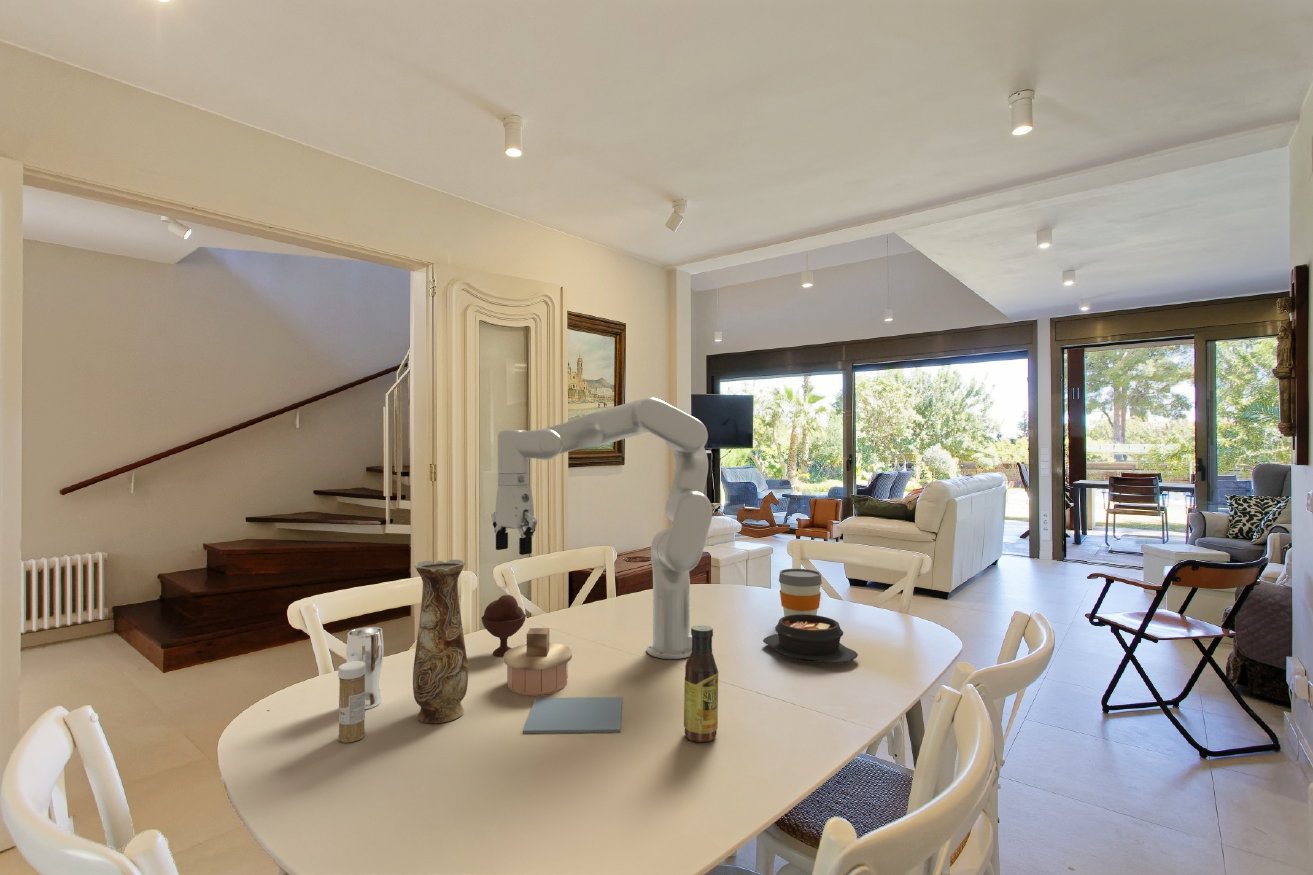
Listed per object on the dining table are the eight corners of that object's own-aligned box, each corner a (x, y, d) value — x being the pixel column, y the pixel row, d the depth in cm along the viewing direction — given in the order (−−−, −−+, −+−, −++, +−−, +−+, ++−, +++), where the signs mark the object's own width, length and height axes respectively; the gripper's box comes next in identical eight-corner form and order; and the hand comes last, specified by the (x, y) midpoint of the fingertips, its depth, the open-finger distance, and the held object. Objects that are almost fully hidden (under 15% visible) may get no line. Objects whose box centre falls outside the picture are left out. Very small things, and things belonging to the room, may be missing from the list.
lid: (575, 650, 150) (575, 621, 150) (568, 674, 135) (568, 641, 135) (511, 651, 150) (511, 621, 150) (497, 674, 135) (497, 641, 135)
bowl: (570, 673, 149) (570, 647, 149) (563, 695, 136) (563, 667, 136) (514, 674, 149) (514, 648, 149) (502, 696, 136) (502, 668, 136)
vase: (416, 729, 120) (416, 570, 120) (409, 708, 129) (410, 560, 129) (472, 718, 124) (473, 565, 125) (462, 699, 134) (462, 556, 134)
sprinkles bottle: (334, 737, 117) (334, 664, 117) (360, 729, 120) (361, 658, 120) (342, 746, 113) (343, 670, 113) (369, 738, 116) (369, 664, 116)
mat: (621, 699, 134) (621, 696, 134) (620, 731, 119) (620, 729, 119) (536, 700, 133) (536, 697, 133) (523, 733, 118) (523, 730, 118)
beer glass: (390, 699, 133) (390, 628, 134) (365, 713, 127) (365, 638, 127) (364, 695, 136) (364, 625, 136) (338, 708, 129) (338, 634, 129)
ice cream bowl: (530, 646, 168) (530, 589, 168) (516, 661, 157) (517, 600, 157) (491, 645, 169) (491, 588, 169) (475, 659, 158) (475, 599, 158)
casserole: (747, 649, 166) (747, 617, 166) (792, 635, 178) (792, 605, 178) (829, 677, 147) (829, 640, 147) (872, 659, 159) (872, 625, 159)
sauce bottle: (707, 747, 113) (708, 635, 113) (677, 738, 116) (677, 629, 116) (724, 733, 118) (724, 626, 119) (694, 725, 122) (694, 621, 122)
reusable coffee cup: (794, 614, 199) (794, 566, 199) (829, 622, 190) (829, 572, 190) (770, 622, 191) (770, 572, 191) (806, 631, 182) (806, 579, 182)
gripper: (548, 481, 150) (548, 553, 150) (506, 478, 162) (506, 545, 162) (521, 483, 145) (521, 558, 145) (480, 479, 157) (480, 549, 157)
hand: (513, 551), depth 153 cm, fingers open, 9 cm apart
